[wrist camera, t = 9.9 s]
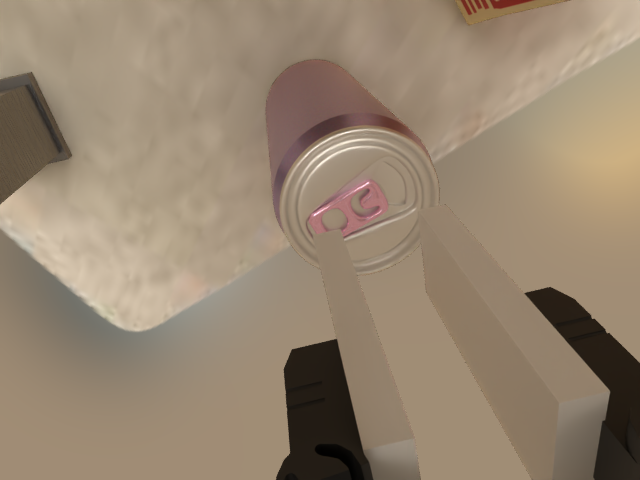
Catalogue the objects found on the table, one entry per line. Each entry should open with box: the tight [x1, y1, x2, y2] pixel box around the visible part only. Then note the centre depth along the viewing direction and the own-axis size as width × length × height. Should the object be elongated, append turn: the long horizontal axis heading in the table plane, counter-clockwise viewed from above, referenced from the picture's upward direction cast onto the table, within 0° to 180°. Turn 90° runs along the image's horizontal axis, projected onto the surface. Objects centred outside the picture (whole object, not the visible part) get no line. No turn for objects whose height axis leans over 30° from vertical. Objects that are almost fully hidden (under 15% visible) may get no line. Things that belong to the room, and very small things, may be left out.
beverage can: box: [266, 60, 440, 276], centre depth 22 cm, size 6×6×15 cm
